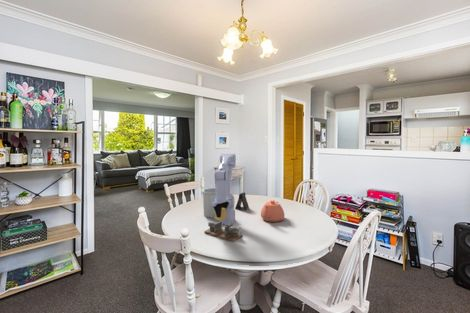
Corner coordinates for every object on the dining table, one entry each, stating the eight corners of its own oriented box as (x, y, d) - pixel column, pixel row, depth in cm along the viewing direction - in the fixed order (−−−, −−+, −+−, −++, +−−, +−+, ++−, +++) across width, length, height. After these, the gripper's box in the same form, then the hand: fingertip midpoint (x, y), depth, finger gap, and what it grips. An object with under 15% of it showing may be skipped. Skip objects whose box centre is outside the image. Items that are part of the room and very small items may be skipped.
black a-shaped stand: (235, 208, 176) (235, 193, 175) (238, 206, 181) (238, 191, 180) (246, 210, 172) (246, 194, 171) (249, 208, 177) (249, 192, 176)
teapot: (276, 227, 140) (277, 207, 139) (253, 222, 148) (254, 203, 147) (288, 216, 158) (289, 198, 158) (267, 212, 167) (267, 195, 166)
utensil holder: (214, 219, 153) (214, 193, 151) (198, 215, 162) (198, 190, 160) (228, 213, 164) (228, 189, 163) (212, 209, 173) (212, 186, 172)
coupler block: (226, 218, 129) (226, 208, 129) (222, 220, 126) (221, 209, 125) (218, 216, 132) (218, 206, 131) (214, 219, 128) (214, 208, 128)
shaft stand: (204, 233, 131) (204, 222, 130) (214, 228, 138) (214, 218, 138) (233, 242, 119) (233, 231, 119) (242, 236, 126) (242, 225, 126)
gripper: (222, 188, 136) (222, 211, 137) (206, 193, 123) (207, 218, 125) (232, 190, 132) (232, 213, 133) (217, 195, 120) (217, 220, 121)
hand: (221, 216), depth 128 cm, fingers closed on coupler block, 4 cm apart
